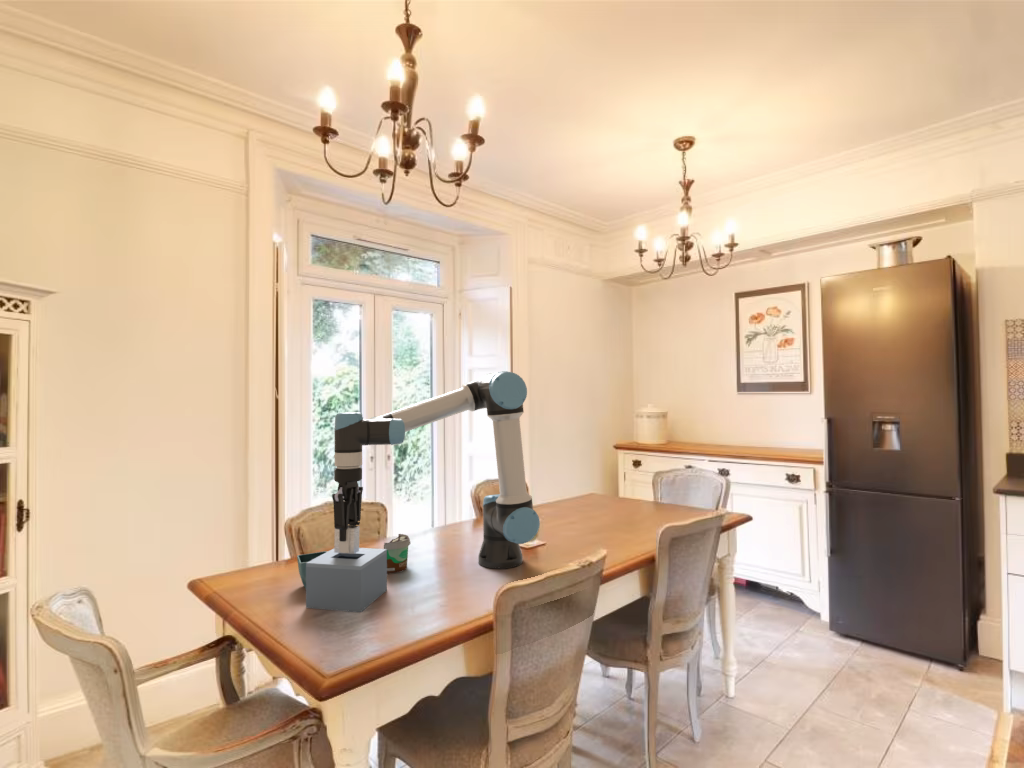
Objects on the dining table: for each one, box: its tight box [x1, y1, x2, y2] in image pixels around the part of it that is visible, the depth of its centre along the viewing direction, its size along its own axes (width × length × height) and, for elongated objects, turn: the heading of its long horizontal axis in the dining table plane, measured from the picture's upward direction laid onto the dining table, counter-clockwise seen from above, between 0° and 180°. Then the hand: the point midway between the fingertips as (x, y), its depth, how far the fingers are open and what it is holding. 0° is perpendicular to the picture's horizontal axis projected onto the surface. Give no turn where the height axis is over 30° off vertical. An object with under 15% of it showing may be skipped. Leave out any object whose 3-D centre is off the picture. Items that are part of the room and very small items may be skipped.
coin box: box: [305, 547, 388, 613], centre depth 149 cm, size 16×16×12 cm
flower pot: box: [296, 550, 328, 590], centre depth 158 cm, size 9×9×9 cm
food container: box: [383, 533, 411, 574], centre depth 174 cm, size 12×6×10 cm, turn 168°
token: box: [333, 525, 360, 554], centre depth 149 cm, size 6×3×7 cm, turn 79°
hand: (347, 550), depth 149 cm, fingers closed on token, 3 cm apart
